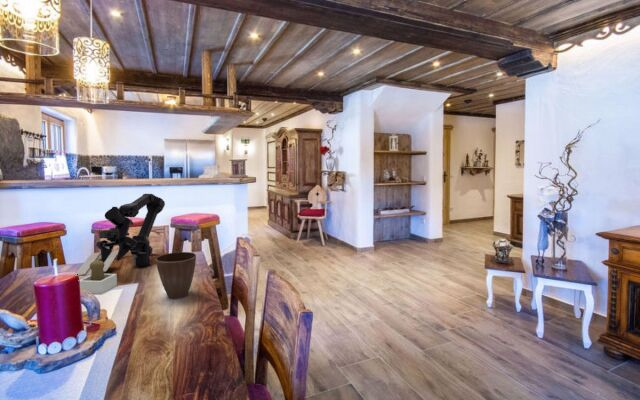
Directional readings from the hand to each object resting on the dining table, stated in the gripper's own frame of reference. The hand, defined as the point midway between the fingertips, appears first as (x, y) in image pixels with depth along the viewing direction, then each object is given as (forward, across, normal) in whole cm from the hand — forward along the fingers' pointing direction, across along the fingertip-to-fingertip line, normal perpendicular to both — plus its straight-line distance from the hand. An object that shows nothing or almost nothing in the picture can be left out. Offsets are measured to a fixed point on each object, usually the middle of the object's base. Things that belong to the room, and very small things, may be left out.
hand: (110, 261), depth 153 cm
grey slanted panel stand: (0, -20, +11) cm, 23 cm away
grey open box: (+13, +1, -1) cm, 13 cm away
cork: (+12, +1, -2) cm, 12 cm away
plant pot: (+16, +36, +7) cm, 40 cm away
